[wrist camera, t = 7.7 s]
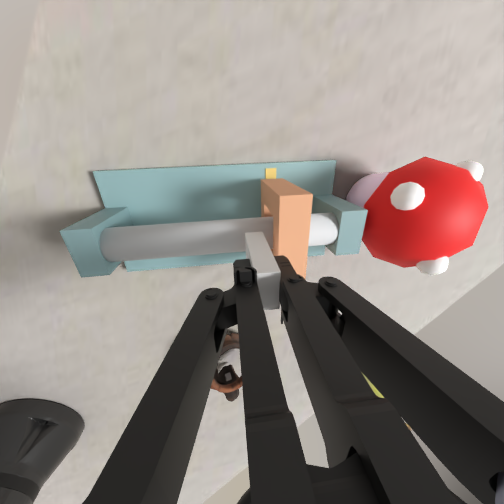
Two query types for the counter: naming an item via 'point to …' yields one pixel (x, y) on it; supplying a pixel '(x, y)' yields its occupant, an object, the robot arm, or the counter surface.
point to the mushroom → (421, 212)
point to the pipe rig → (202, 216)
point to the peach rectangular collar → (288, 220)
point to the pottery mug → (228, 372)
